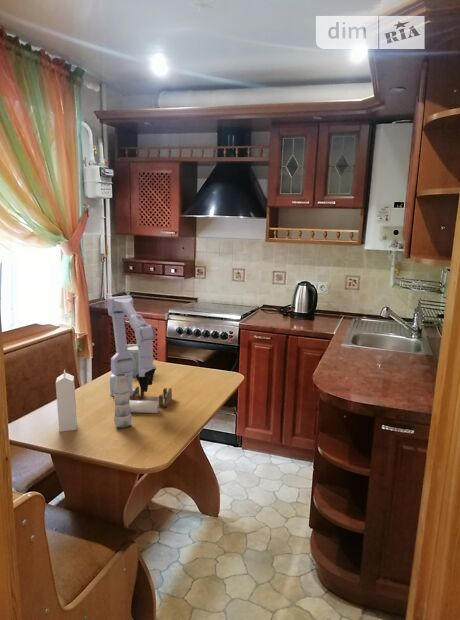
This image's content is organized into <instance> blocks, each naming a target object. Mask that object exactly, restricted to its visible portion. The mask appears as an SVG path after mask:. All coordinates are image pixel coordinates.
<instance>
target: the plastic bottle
mask: <svg viewBox="0 0 460 620" xmlns="http://www.w3.org/2000/svg"><path fill="white" fill-rule="evenodd" d="M116 381H117V382H116V383H115V385H114V386H113V394H114V396H113V398H114V417H113V418H114V419H113V421H114V425H115V426H116V427H117V428H120V429H123V428H128V427H129V426H130V425H132V420H133V418H132V412H130V406H129V400H130V386H129V384H128V383H127V382H126V374H117V375H116Z"/></svg>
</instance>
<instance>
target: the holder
mask: <svg viewBox="0 0 460 620" xmlns="http://www.w3.org/2000/svg"><path fill="white" fill-rule="evenodd" d="M134 389H135V390H134V391H133V393H132V394H131V395H130V397H129V400H140V401H159V409H167V408H168V407H169V405H170V404H171V401H172V395H173V394H172V392H173V391H172V390H173V389H172V387H169V389H168V390H167V388H166V387H164V388H163V390H162V391H163V392H162V393H163V394H159V395H158V396H149V395H148V396H145V392H142V391H141V388H140V386H136V388H134Z"/></svg>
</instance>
